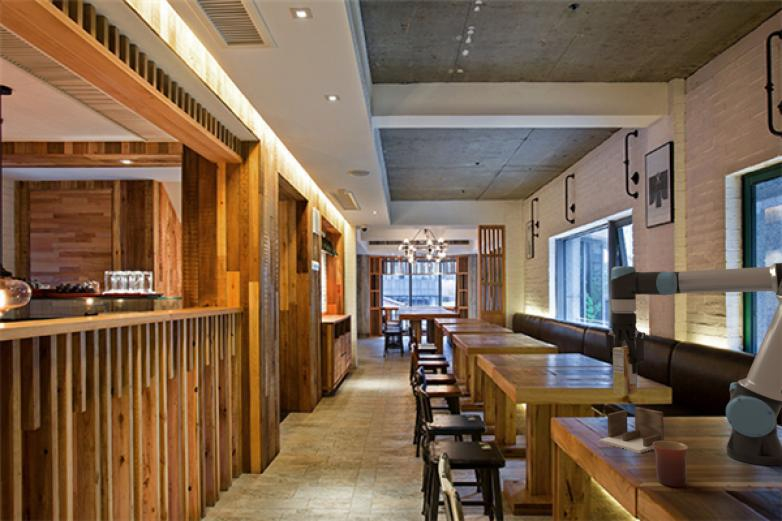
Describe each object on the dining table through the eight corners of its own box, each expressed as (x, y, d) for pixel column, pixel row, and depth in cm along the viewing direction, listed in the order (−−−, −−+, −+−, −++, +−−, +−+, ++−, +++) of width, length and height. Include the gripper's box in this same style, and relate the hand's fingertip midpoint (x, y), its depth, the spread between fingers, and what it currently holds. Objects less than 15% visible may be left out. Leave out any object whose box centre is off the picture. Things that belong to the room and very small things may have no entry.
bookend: (664, 445, 176) (663, 412, 177) (647, 450, 171) (646, 416, 171) (638, 438, 184) (637, 407, 184) (621, 443, 179) (620, 411, 179)
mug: (686, 492, 136) (684, 452, 137) (650, 484, 142) (648, 446, 142) (694, 478, 145) (693, 441, 146) (660, 471, 151) (659, 436, 152)
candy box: (626, 390, 177) (624, 345, 178) (638, 392, 174) (637, 346, 175) (613, 394, 172) (611, 347, 172) (625, 396, 168) (624, 348, 169)
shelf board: (665, 445, 176) (665, 442, 176) (639, 453, 168) (639, 450, 168) (625, 435, 188) (625, 432, 188) (599, 442, 180) (599, 439, 180)
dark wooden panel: (627, 435, 187) (626, 410, 188) (610, 440, 182) (609, 414, 182) (625, 435, 188) (624, 410, 189) (608, 439, 183) (607, 414, 183)
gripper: (655, 313, 169) (657, 385, 168) (607, 310, 183) (608, 377, 182) (642, 313, 165) (644, 387, 164) (594, 311, 179) (595, 379, 178)
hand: (625, 382), depth 173 cm, fingers closed on candy box, 4 cm apart
